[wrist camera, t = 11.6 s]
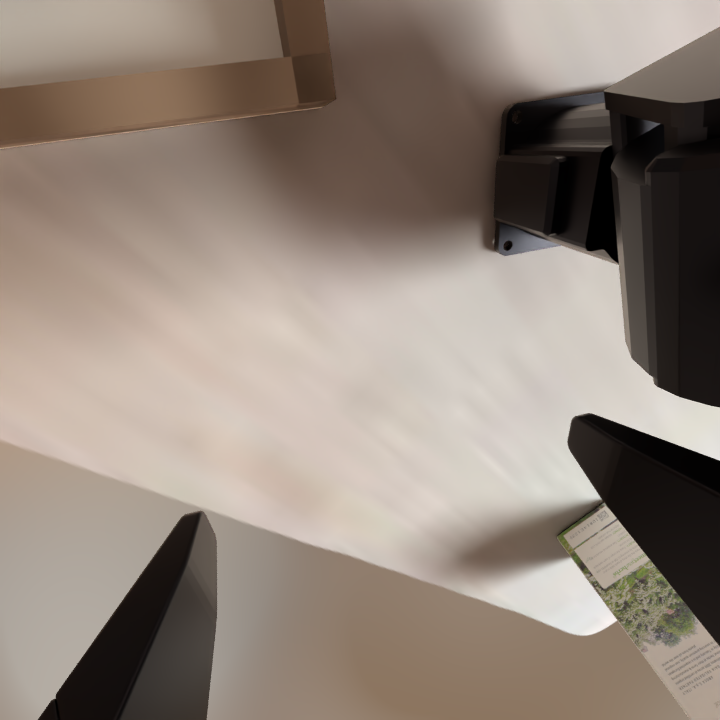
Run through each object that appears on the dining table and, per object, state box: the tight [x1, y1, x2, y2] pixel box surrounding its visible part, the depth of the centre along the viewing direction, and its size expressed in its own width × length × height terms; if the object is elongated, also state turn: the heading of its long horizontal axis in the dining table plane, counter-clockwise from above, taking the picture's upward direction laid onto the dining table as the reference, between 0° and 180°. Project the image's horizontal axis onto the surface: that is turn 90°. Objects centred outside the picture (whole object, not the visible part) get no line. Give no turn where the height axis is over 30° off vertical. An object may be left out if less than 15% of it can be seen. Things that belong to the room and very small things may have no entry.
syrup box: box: [557, 503, 720, 720], centre depth 29 cm, size 6×6×14 cm
